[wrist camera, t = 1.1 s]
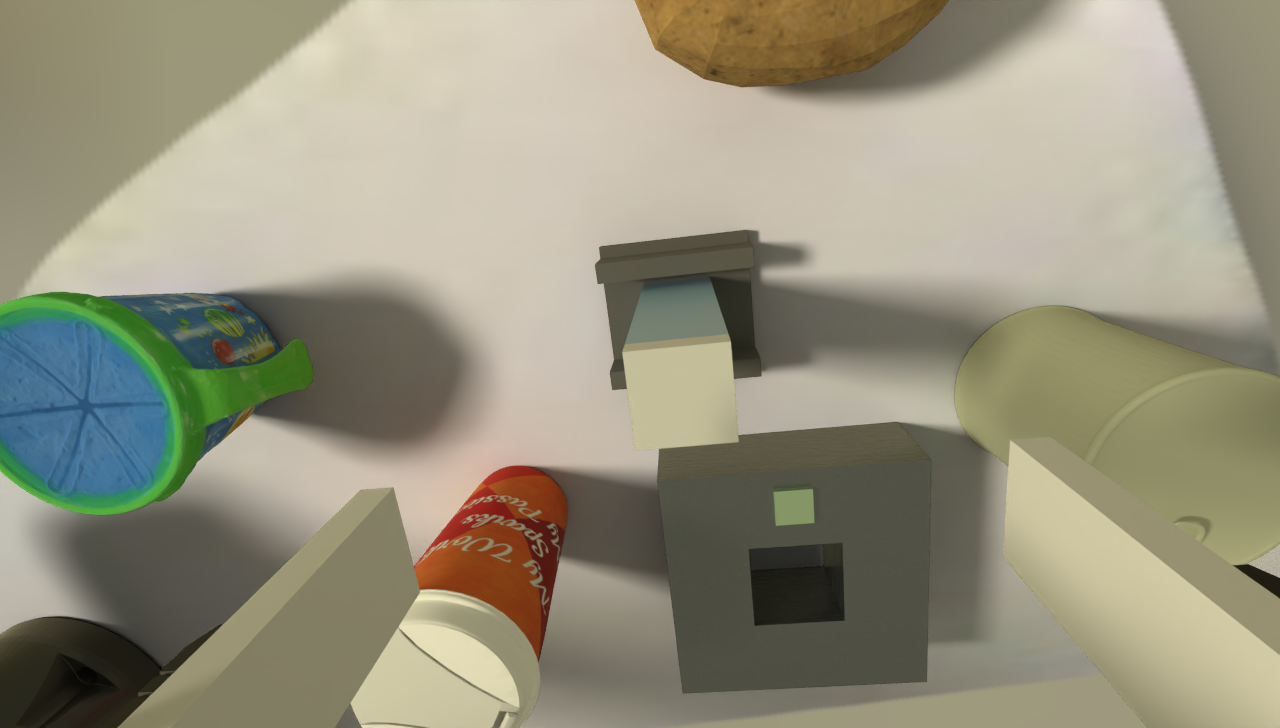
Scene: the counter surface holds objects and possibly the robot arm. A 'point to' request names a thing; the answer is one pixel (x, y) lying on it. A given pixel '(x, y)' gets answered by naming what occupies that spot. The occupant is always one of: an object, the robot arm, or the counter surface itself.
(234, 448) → the counter surface
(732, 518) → the port
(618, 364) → the dark grey bridge bracket
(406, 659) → the coffee cup
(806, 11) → the potato
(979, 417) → the can
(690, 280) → the plug
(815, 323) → the counter surface
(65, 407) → the snack cup
